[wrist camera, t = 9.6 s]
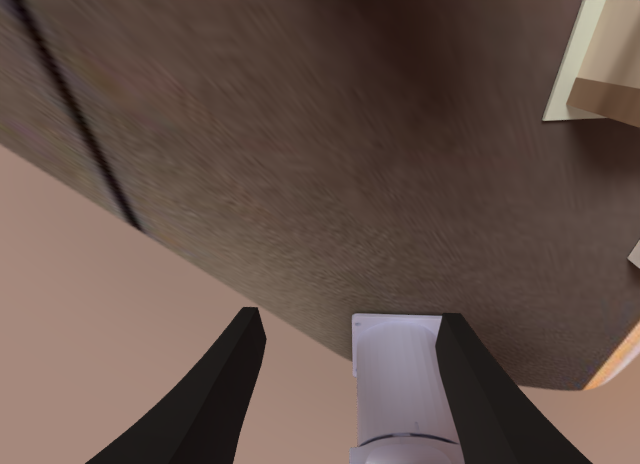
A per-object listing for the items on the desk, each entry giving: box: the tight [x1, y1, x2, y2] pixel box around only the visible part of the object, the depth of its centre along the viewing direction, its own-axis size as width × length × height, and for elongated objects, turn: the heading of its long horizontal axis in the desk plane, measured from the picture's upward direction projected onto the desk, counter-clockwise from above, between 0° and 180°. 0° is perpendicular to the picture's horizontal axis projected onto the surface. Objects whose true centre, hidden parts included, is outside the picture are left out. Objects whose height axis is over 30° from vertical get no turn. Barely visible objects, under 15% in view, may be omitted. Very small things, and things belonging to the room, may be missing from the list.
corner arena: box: [542, 0, 640, 268], centre depth 13 cm, size 20×13×2 cm, turn 4°
